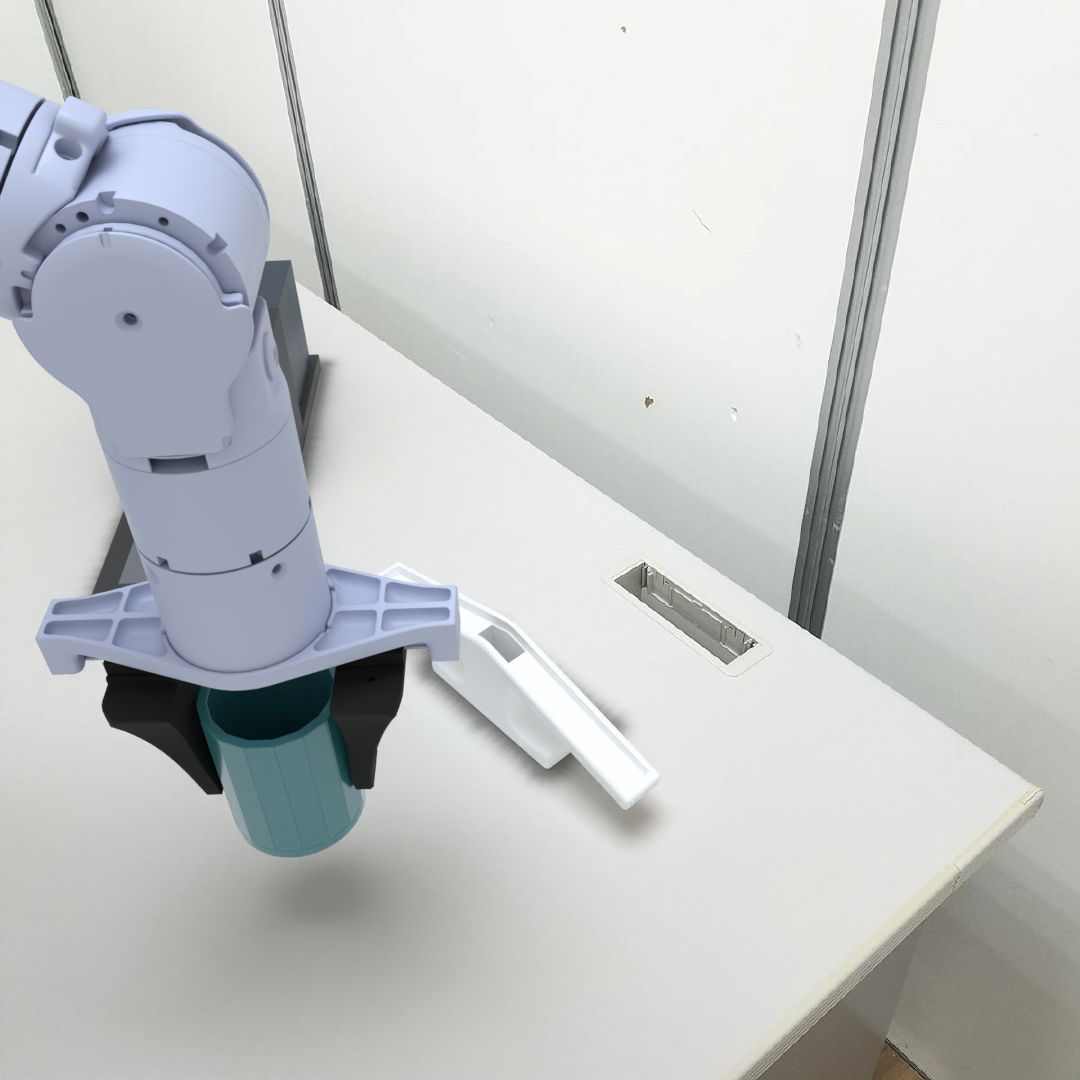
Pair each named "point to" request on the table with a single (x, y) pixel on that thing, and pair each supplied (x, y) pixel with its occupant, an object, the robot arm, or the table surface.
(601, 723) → the t-shaped cleat
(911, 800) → the table surface
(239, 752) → the cup
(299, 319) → the coffee maker
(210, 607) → the robot arm
